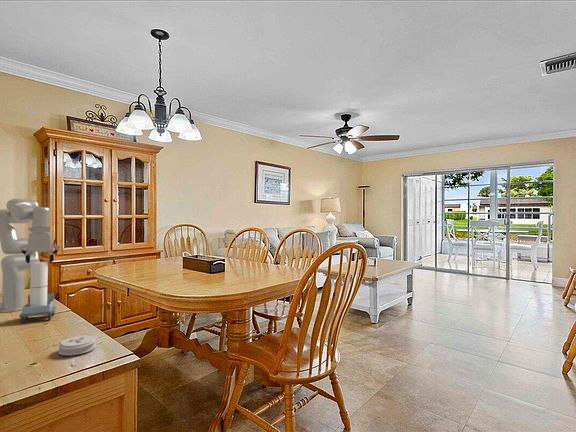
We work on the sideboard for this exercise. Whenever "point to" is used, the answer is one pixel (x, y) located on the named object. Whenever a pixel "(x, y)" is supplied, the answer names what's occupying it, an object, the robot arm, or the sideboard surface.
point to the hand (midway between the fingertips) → (39, 262)
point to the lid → (77, 345)
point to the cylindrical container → (38, 284)
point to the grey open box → (38, 309)
